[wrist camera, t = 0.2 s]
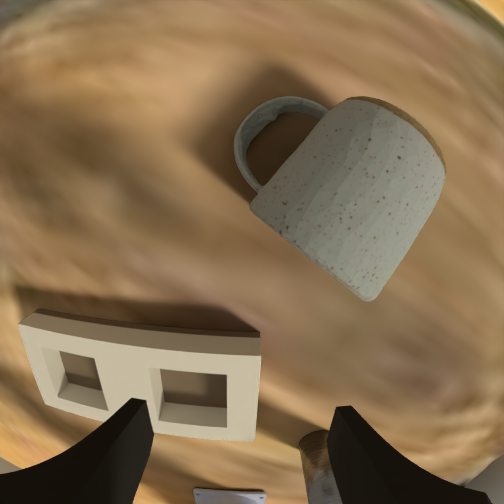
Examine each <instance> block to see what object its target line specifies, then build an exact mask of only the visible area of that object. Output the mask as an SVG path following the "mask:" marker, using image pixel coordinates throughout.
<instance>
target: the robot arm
mask: <svg viewBox="0 0 504 504" xmlns="http://www.w3.org/2000/svg"><path fill="white" fill-rule="evenodd" d="M153 437H154V432H153V428H152V424H151V419H150V415H149V411H148V406H147V401H146V400H143V399H137V398H130V399H129V400H128V401H127V402H126V403H125V404H124V405H123V406H122V407H121V408H120V409H118V410H117V411H116V412H115V413H114V414H113V415H112V416H111V417H110V418H109V419H107V420H106V421H105V422H104V423H103V424H102V425H100V426H99V427H98V428H97V429H96V430H94V431H93V432H92V433H91V434H89V435H88V436H87V437H85V438H84V439H83V440H81V441H80V442H78V443H77V444H75V445H74V446H72V447H71V448H69V449H68V450H66V451H64V452H63V453H61V454H59V455H57V456H55V457H53V458H51V459H48V460H46V461H44V462H42V463H40V464H37V465H34V466H31V467H29V468H25V469H22V470H19V471H15V472H10V473H5V474H0V504H132V503H133V500H134V497H135V494H136V491H137V488H138V485H139V483H140V480H141V477H142V475H143V472H144V469H145V466H146V464H147V461H148V458H149V455H150V451H151V447H152V442H153ZM326 441H327V448H328V455H329V461H330V464H331V468H332V471H333V475H334V478H335V481H336V484H337V488H338V491H339V494H340V498H341V501H342V504H492V503H491V501H490V499H489V498H488V496H487V495H486V493H484V492H480V491H476V490H472V489H468V488H464V487H461V486H459V485H456V484H453V483H450V482H448V481H446V480H443V479H441V478H439V477H437V476H435V475H433V474H431V473H429V472H427V471H426V470H424V469H422V468H421V467H419V466H418V465H416V464H415V463H413V462H411V461H410V460H409V459H407V458H406V457H404V456H403V455H402V454H401V453H399V452H398V451H397V450H396V449H394V448H393V447H392V446H391V445H390V444H389V443H388V442H386V441H385V440H384V439H383V438H382V437H381V436H380V435H379V434H378V433H377V432H376V431H375V430H374V429H373V428H372V427H371V426H370V425H369V424H368V423H367V422H366V421H365V420H364V419H363V418H362V417H361V415H360V414H359V413H358V412H357V411H356V410H355V409H354V408H353V407H352V406H340V407H336V409H335V413H334V416H333V420H332V423H331V427H330V430H329V433H328V437H327V440H326ZM193 493H194V498H195V502H196V504H265V501H266V492H247V491H224V490H210V489H200V488H195V489H194V490H193Z"/></svg>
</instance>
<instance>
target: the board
mask: <svg viewBox="0 0 504 504" xmlns="http://www.w3.org/2000/svg"><path fill="white" fill-rule="evenodd" d="M18 326H19V330H20V333H21V337H22V340H23V344H24V347H25V350H26V354H27V357H28V360H29V363H30V366H31V369H32V371H33V374H34V377H35V380H36V382H37V385H38V387H39V390H40V393H41V395H42V397H43V400H44V402H45V404H46V405H49V406H52V407H55V408H58V409H61V410H64V411H67V412H70V413H73V414H77V415H80V416H84V417H87V418H91V419H94V420H98V421H102V422H105V421H106V420H107V419H109V418H110V417H111V416H112V415H113V414H114V413H115V412H116V411H117V410H118V409H120V408H121V407H122V406H123V405H124V404H125V403H126V402H127V401H128V400H129V399H130V398H137V399H143V400H146V401H147V406H148V411H149V415H150V419H151V424H152V428H153V432H155V433H161V434H168V435H175V436H183V437H192V438H201V439H213V440H228V441H255V431H256V419H257V407H258V394H259V381H260V368H261V343H260V332H242V331H222V330H205V329H191V328H178V327H167V326H156V325H146V324H137V323H128V322H120V321H112V320H105V319H98V318H91V317H84V316H77V315H71V314H65V313H59V312H53V311H48V310H42V309H37V310H36V311H35V312H33V313H32V314H30V315H29V316H28V317H26V318H25V319H24V320H22V321H21V322H19V323H18Z"/></svg>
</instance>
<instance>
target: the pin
mask: <svg viewBox="0 0 504 504" xmlns="http://www.w3.org/2000/svg"><path fill="white" fill-rule="evenodd" d="M328 433H329V431H326V430H321V431H315V432H312V433H310V434H308V435H306V436H304V437H303V438H302V439H301V441H300V442H299V449H300V455H301V461H302V467H303V473H304V479H305V485H306V491H307V497H308V503H309V504H342V501H341V498H340V494H339V491H338V488H337V484H336V481H335V478H334V475H333V471H332V468H331V464H330V461H329V455H328V448H327V441H326V440H327V437H328Z"/></svg>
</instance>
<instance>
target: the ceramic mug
mask: <svg viewBox="0 0 504 504" xmlns="http://www.w3.org/2000/svg"><path fill="white" fill-rule="evenodd" d="M289 112H298V113H302V114H307V115H310V116H312V117H314V118H317V119H319V120H320V121H319V122H318V123H317V125H316V126H315V127H314V128H313V129H312V131H311V132H310V133H309V135H308V136H307V137H306V139H305V140H304V141H303V142H302V143H301V144H300V146H299V147H298V148H297V149H296V150H295V151H294V152H293V153H292V155H291V156H290V157H289V158H288V159H287V160H286V161H285V162H284V163H283V164H282V166H281V167H280V168H279V169H278V171H277V172H276V173H275V174H274V175H273V177H272V178H271V179H270V180H269V181H268V182H267V184H266V185H265V186H261V185H260V184H259V183H258V181H257V180H256V179H255V177H254V176H253V174H252V173H251V171H250V169H249V166H248V163H247V159H246V152H247V148H248V147H249V144H250V142H251V141H252V140H253V138H254V137H255V136H256V135H257V134H258V133H259V132H260V131H261V130H262V129H263V128H264V127H265V126H266V125H267V124H269V123H270V122H272V121H275V120H276V118H277V115H279V114H282V113H289ZM234 155H235V160H236V164H237V166H238V168H239V170H240V172H241V174H242V176H243V177H244V179H245V180H246V181H247V182H248V184H249V185H250V186H251V187H252V188H253V189H254V190H255V191H256V192H257V193H258V194H257V196H256V197H255V198H254V199H253V200H252V202H251V203H250V205H249V208H250V210H251V211H252V212H253V214H254V215H256V216H257V217H258V218H260V219H261V220H262V221H263V222H264V223H265V224H267V225H268V226H269V227H270V228H272V229H273V230H274V231H275V232H277V233H278V234H279V235H280V236H281V237H283V238H284V239H286V240H287V241H288V242H289V243H290V244H292V245H293V246H294V247H295V248H297V249H298V250H299V251H301V252H302V253H303V254H304V255H306V256H307V257H308V258H309V259H310V260H312V261H313V262H315V263H316V264H317V265H318V266H320V267H321V268H323V269H324V270H325V271H326V272H328V273H329V274H330V275H332V276H333V277H334V278H335V279H336V280H338V281H339V282H341V283H342V284H343V285H345V286H346V287H347V288H349V289H350V290H351V291H352V292H353V293H355V294H356V295H357V296H358V297H360V298H361V299H362V300H364V301H367V302H370V301H373V300H374V299H375V298H376V297H377V296H378V294H379V293H380V291H381V290H382V288H383V287H384V285H385V284H386V282H387V281H388V279H389V278H390V277H391V275H392V274H393V272H394V271H395V269H396V268H397V266H398V265H399V263H400V262H401V260H402V259H403V258H404V256H405V255H406V253H407V251H408V250H409V248H410V247H411V245H412V243H413V242H414V240H415V238H416V237H417V235H418V233H419V231H420V230H421V228H422V227H423V225H424V223H425V222H426V220H427V219H428V217H429V215H430V214H431V212H432V210H433V209H434V207H435V205H436V203H437V201H438V199H439V196H440V193H441V190H442V187H443V184H444V180H445V176H446V164H445V161H444V158H443V155H442V152H441V150H440V148H439V146H438V145H437V143H436V142H435V140H434V139H433V138H432V136H431V135H430V134H429V132H428V131H427V130H426V129H425V128H424V127H423V126H422V125H421V124H420V123H419V122H418V121H417V120H415V119H414V118H413V117H412V116H410V115H409V114H407V113H406V112H404V111H403V110H401V109H399V108H398V107H396V106H394V105H392V104H390V103H388V102H385V101H383V100H380V99H376V98H370V97H365V96H360V97H350V98H347V99H346V100H344V101H342V102H340V103H339V104H338V105H336V106H335V107H334V108H332V109H331V110H328V109H327V108H325V107H324V106H323V105H320V104H319V103H317V102H315V101H312V100H309V99H307V98H302V97H296V96H284V97H278V98H275V99H272V100H268V101H266V102H265V103H263V104H261V105H260V106H258V107H257V108H255V109H254V110H253V111H252V112H251V113H250V114H249V115H248V116H247V117H246V118H245V119H244V120H243V122H242V123H241V124H240V126H239V128H238V129H237V131H236V134H235V137H234Z"/></svg>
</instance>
